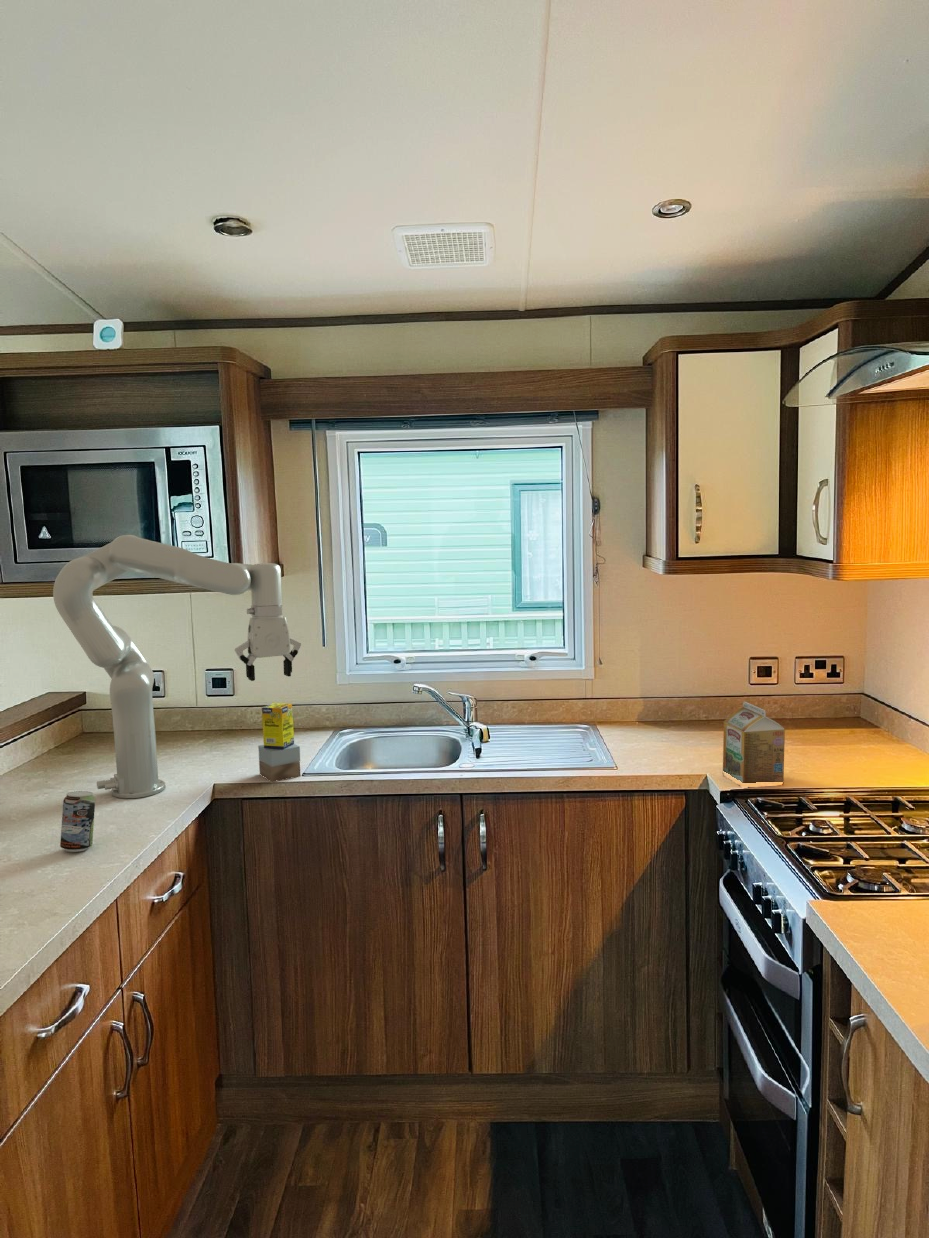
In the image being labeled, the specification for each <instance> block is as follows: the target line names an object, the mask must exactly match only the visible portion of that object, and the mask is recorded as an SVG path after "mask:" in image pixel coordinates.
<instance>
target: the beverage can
mask: <svg viewBox="0 0 929 1238" xmlns="http://www.w3.org/2000/svg"><path fill="white" fill-rule="evenodd" d="M93 794H94V793H93V792H92V791H87V790H74V791H69V792H67V793H66V796H65V797H64V799H63V800H62V815H61V827H60V829H61V831H60V845H59V846H60V848H61V849H63V850H64V851H65V852H73V853H76V852H77V853H78V852H83V851H87V850H88V849H89V848H91V847H92V846H93V839H94V826H95V808H96V798H95V797H94V795H93Z"/></svg>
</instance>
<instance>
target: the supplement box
mask: <svg viewBox="0 0 929 1238" xmlns="http://www.w3.org/2000/svg"><path fill="white" fill-rule="evenodd" d="M293 715H294V713H293V703H292V702H291V703H288V702H286V703H285V702H272V703H270V704H268V705H265V706H262V707H261V719H262V720H261V721H262V736H263V745H264V748H270V749H285V748H286V747H288V746H290V745H292V744H295V732H294V718H293Z"/></svg>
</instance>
